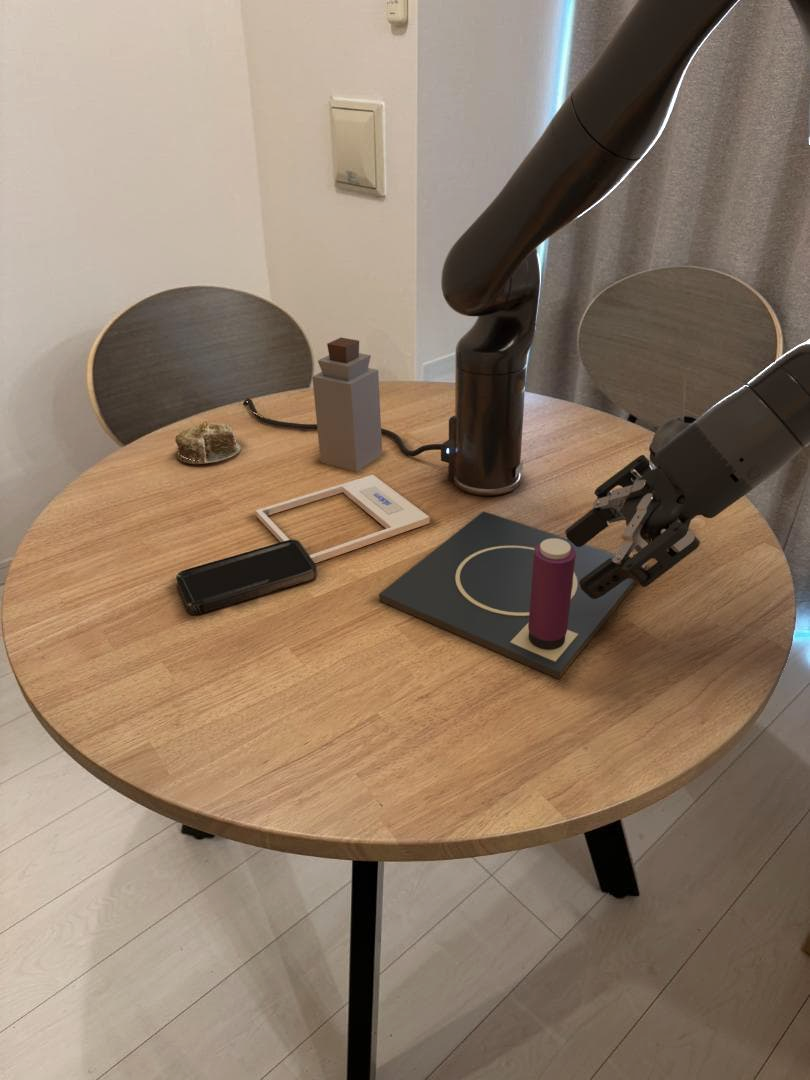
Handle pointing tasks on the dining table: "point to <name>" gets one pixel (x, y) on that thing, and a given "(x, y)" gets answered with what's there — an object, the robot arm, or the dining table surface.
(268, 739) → the dining table surface
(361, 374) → the perfume bottle
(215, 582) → the phone
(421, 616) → the slate board
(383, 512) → the photo frame
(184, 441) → the cake
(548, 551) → the dot marker
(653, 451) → the beverage cup
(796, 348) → the robot arm
